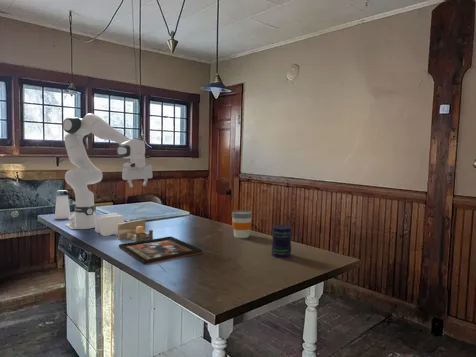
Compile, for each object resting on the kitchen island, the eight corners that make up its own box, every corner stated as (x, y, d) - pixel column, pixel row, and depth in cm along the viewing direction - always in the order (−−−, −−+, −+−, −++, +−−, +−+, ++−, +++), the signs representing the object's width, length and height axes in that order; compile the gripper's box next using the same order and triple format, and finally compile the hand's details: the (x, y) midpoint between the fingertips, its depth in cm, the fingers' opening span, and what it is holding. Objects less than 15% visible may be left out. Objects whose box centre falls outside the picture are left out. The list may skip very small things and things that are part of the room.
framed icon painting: (208, 252, 187) (208, 246, 187) (148, 268, 162) (148, 262, 162) (167, 238, 214) (167, 234, 214) (111, 250, 189) (111, 245, 189)
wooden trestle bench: (118, 239, 208) (117, 223, 207) (143, 233, 222) (143, 219, 221) (132, 243, 200) (131, 227, 199) (157, 237, 214) (157, 222, 213)
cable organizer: (99, 237, 212) (98, 217, 211) (94, 233, 221) (94, 214, 219) (124, 233, 220) (124, 215, 219) (119, 230, 229) (119, 212, 228)
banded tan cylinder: (134, 238, 210) (134, 227, 209) (140, 237, 213) (140, 225, 212) (139, 240, 207) (138, 228, 206) (145, 238, 210) (144, 226, 210)
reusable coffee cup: (255, 236, 220) (256, 212, 219) (242, 240, 211) (242, 214, 210) (240, 232, 229) (241, 209, 227) (227, 236, 219) (227, 211, 218)
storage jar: (286, 259, 176) (286, 229, 174) (268, 256, 181) (268, 227, 179) (294, 254, 184) (295, 226, 183) (276, 251, 189) (277, 223, 188)
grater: (55, 216, 269) (54, 189, 267) (70, 215, 273) (69, 189, 272) (54, 219, 259) (53, 191, 258) (70, 218, 264) (69, 191, 262)
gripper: (148, 163, 230) (148, 184, 231) (120, 164, 214) (120, 187, 215) (154, 163, 226) (154, 185, 227) (126, 164, 210) (126, 188, 211)
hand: (138, 186), depth 221 cm, fingers open, 8 cm apart
